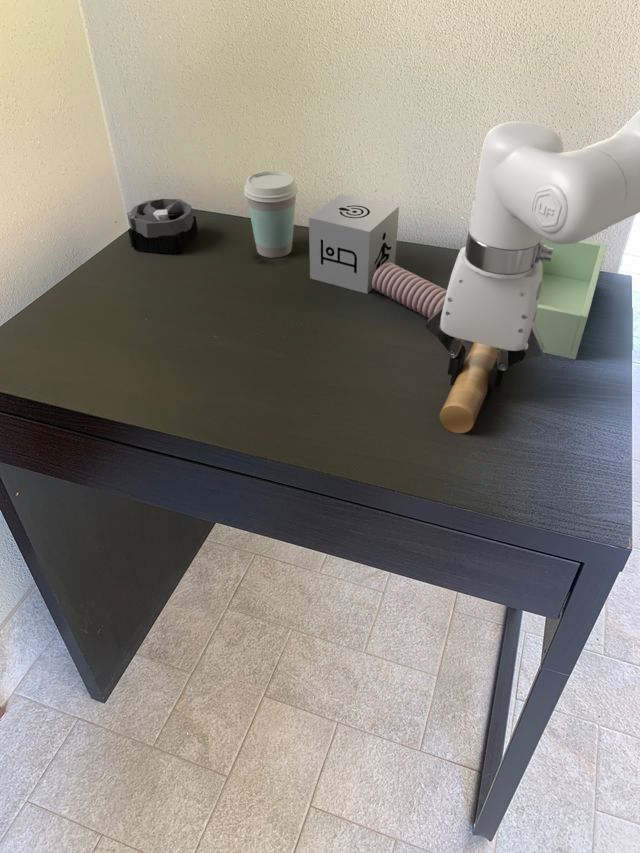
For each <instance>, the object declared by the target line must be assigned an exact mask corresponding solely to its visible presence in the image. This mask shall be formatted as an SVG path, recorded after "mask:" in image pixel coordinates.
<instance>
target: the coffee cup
mask: <svg viewBox="0 0 640 853" xmlns="http://www.w3.org/2000/svg"><path fill="white" fill-rule="evenodd" d="M298 192H299V188H298V184H297V183H296V180H295V177H294V176H293V175H292V174H291V173H289V172H286V171H283V170H275V169H274V170H273V169H272V170H271V169H269V170H261V171H256V172H254V173H251V174H250V175H248V176H247V178H246V181H245V185H244V188H243V195H244V196H245V197H246V200H247V206H248V207H247V208H248V211H249V216H250V221H251V226H252V233H253V238H254V242H255V248H256V251H257V254H259V255H260V256H262V257H264V258H271V259H275V258H277V259H278V258H283V257H285V256H288V255H289V254H291V252H292V249H293V239H294V226H295V215H296V214H295V212H296V201H297V200H296V199H297V194H298Z"/></svg>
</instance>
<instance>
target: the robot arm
mask: <svg viewBox="0 0 640 853" xmlns="http://www.w3.org/2000/svg"><path fill="white" fill-rule="evenodd" d="M478 166H479V167H478V172H477V177H476V183H475V188H474V189H475V190H474V195H473V201H472V206H471V211H470V212H471V213H470V219H469V225H468V231H467V238H466V244H465V246H463V247H461V249H460V250H459V252H458V255H457V256H456V260H455V264H454V265H453V268H452V271H451V274H450V278H449V282H448V285H447V289H446V290H447V293H446V297H445V301H444V305H443V306H442V307H440V308H439V309H438V310H437V311H436V312H435V313H434V314H433V315H432V316H431V317H430V318H427V320H426V322H425V324H424V325H425V328H426V329H427V330H428V331H429V332H431V333H432V334H433V335H434V336H435V337H437V338H438V341H439V342H440V343H441V344H442V346H443V347H444V348H445V349H446V351H447V356H448V357H449V363H448V366H447V367H448V369H447V375H450V376H451V378H450V382H449V385H450V386H453V385H454V383H455V381H456V379H457V377H458V375H459V373H460V371H461V369H462V367H463V364H464V362H465V360H466V352H467V349H466V346H465V345H464V342H465V341H468V342H472V343H474V342H475V343H479V344H484V345H488V346H492V347H496V348H497V358H496V360H495V363H494V365H493V368H492V371H491V375H490V380H489V384H488V391H487V395H488V396H491V397H492V396H493V395H494V392H495V389H496V388H500V389H501V387H502V385H503V383H504V379H505V375H506V372H507V370H508V368H509V367H512V366H513V365H515V364H517V363H520V362H522V361H524V360H525V359H532V358H535V357H539V356H542V355H543V354H544V353H543V350H544V344H543V342H542V340H541V337H540V335H539V333H538V330H537V328H536V326H535V324H534V321H535V317H536V313H537V308H538V303H539V298H540V292H541V285H542V273H543V265H542V262H541V261H543V260H546V261H551V258H552V255H553V251H554V249H553V248H548V247H547V246H545V245H544V242H542V238H544V239H546V240H548V241H550V242H553V243H556V244H573V243H577V242H580V241H585V240H586V239H589V238H590V237H591V238H592V237H593V236H594V235H597V234H599V233H601V232H603V231H605V230H607V229H608V228H611V227H612V226H614V225H616V224H619V223H620V222H622V221H624V220H626V219H628V218H631V217H633V216H635V215H637V214H639V213H640V109H639V110H638V111H636V113H635V114H634V115H633V116H632V117H631V118H630V119H629V120H628V121H627V122H626V123H625V124H624V125H623V126H622V127H621V128H620V129H619V130H618V131H617V132H616V133H614V134H613V135H612V136H611V137H609V138H607V139H604V140H600V141H598V142H595V143H592V144H589V145H588V146H585V147H583V148H580V149H577V150H570V151H564V141H563V139H562V136H561V135H560V134H559V132H558V131H557V130H555V129H553V128H552V127H550V126H547V125H545V124H542V123H537V122H533V121H520V120H519V121H518V120H517V121H507V122H502V123H500V124H497V125H496V126H493V127H492V128H491V129H490V130H489V131H488V132H487V134H486V136H485V138H484V140H483V143H482V148H481V154H480V160H479V165H478ZM526 343H528V344H526Z"/></svg>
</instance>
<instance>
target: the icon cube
mask: <svg viewBox="0 0 640 853" xmlns="http://www.w3.org/2000/svg"><path fill="white" fill-rule="evenodd" d="M399 211H400V206H399V205H396V204H391V203H386V202H381V201H378V200H377V201H376V200H373V199H368V198H364V197H359V196H353V195H349V194H346V193H345V194H344V193H340V194H338V195H337V196H335V198H333V199H332V200H330V201H329V202H327V203H326V204H325V205H324V206H322V207H321V208H320V209H318V210H316V212H314V213H313V214H311V216H309V217H308V241H309V242H308V244H309V245H308V246H309V278H310V279H311V280H314V281H318V282H322V283H325V284H329V285H333V286H336V287H341V288H344V289H348V290H351V291H355V292H358V293H362V294H366V295H368V294H369V293H370V292H371V291H372V290H374V288H373V285H372V280H373V276H374V274H375V272H376V271H377V269H378V268H379V267H380V266H381V265H383V264H385V263H393V264H394V265H396V259H397V258H396V257H397V241H398V228H399V214H400V212H399Z"/></svg>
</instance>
